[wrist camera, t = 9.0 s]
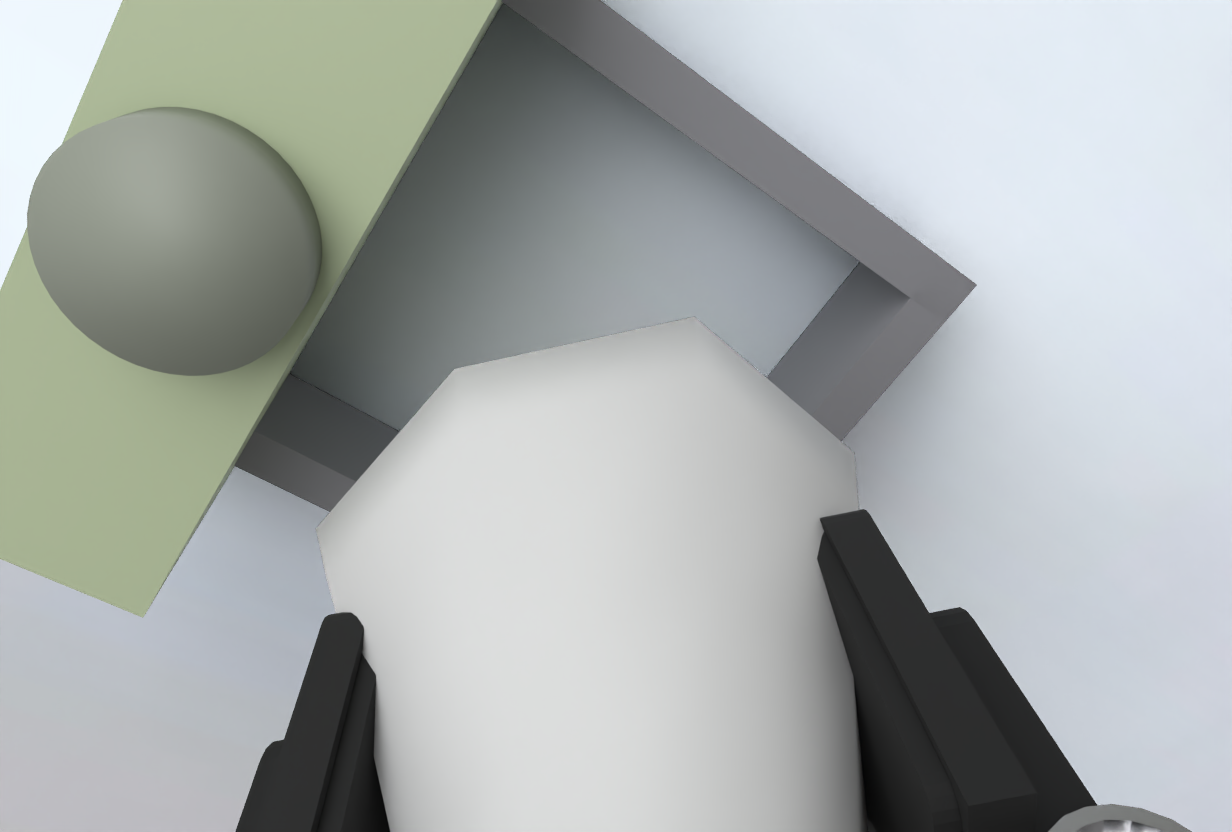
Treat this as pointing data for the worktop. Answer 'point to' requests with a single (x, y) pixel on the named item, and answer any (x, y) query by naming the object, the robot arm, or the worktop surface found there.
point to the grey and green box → (310, 261)
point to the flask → (605, 598)
